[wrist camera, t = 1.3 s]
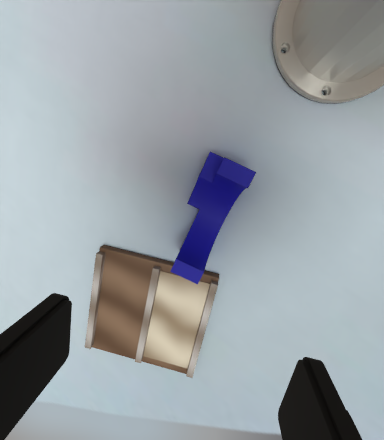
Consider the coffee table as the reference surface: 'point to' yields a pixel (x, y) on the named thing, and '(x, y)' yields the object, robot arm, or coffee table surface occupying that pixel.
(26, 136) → the coffee table surface
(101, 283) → the organizer board
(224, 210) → the cable clip
